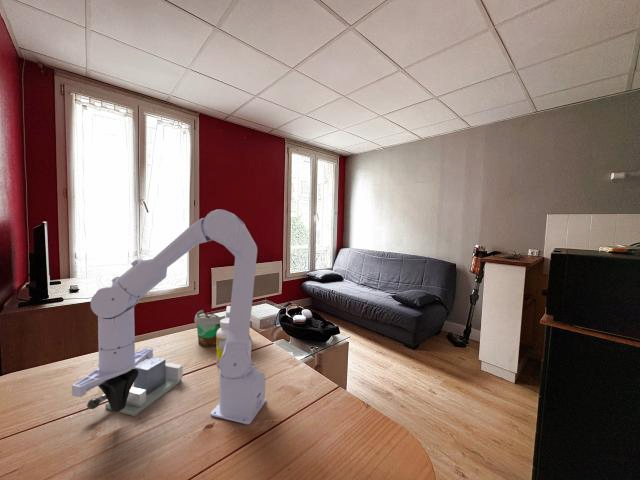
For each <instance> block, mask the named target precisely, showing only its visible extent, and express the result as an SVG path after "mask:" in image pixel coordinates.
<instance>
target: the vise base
mask: <svg viewBox="0 0 640 480" xmlns="http://www.w3.org/2000/svg"><path fill="white" fill-rule="evenodd" d="M183 369H184V366H183V365H182V364H178V363H172V362H166V383H164V384H163V385H161V386H160V387H159V388H157V389H156V390H154V391H153V392H151V393H150V394H149V395H146V403H145V404H144V405H142V406H141V407H137V406H133V405H129V404H126V405H125V408H123V409H122V410H121V411H119V412H118V413H122V414H126V415H128V416H133V417H135V416H136V415H138V414H139V413H140V412H142V411H143V410H145V409H146V408H148V407H149V406H150V405H151V404H152V403H154V402H156V401H157V400H158V399H159V398H161V397H162V396H163V395H165V394H166V393H168V392H169V391H170V390H172V389H173V388H174V387H176V386H177V385H178V384H179V383H181V382H182V381H183V380H182V379H183V376H184V373H183V372H184V371H183ZM132 387H134V385H132ZM105 409H107V410H111V407H110V404H109V402H106V403H105ZM111 411H112V410H111Z"/></svg>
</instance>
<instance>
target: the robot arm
mask: <svg viewBox="0 0 640 480" xmlns="http://www.w3.org/2000/svg"><path fill="white" fill-rule="evenodd" d="M211 241H215V242H216V243H218V244H220V245H223V246H224V247H225V248H226V249H227V250H228V251H229V252H230V253H231V254H232V255H233V256H234V267H233V277H232V287H231V296H230V298H231V299H230V306H231V307H230V317H229V328H228V335H227V339H226V341H225V346H224V351H223V354H222V357H221V359H220V362H219V366H218V368H219V393H218V394H219V400H218V401H219V403H218V404H217V405H216V406H215V407H214V408H213V409H212V410H211V411H210V414H209V415H210V416H212V417H216V418H219V419H224V420H228V421H233V422H236V423H238V424H239V423H240V424H243V425H250V424H251V423H252V422H253V420H255V418H256V416H257V415H258V413H259V412H260V411H261V409H262V407H264V405H265V403H266V401H267V398H266V376H265V372H263V371H261V370H259V369H257V368H256V367H255V366H254V362H253V361H252V360H253V359H252V348H253V339H252V338H251V337H252V336H251V334H250V330H251V329H250V328H251V320H252V319H251V318H252V311H253V310H252V308H253V297H254V287H255V279H256V278H255V277H256V268H257V258H258V246H257V244H256V242H255V241H254V238H253V237H252V235H251V233H250V231H249V230H248V228H247V227H246V224H245V222H244V221H242V219H240V218H239V217H238V216H237V215H236V214H235V213H234V212H233V213H232V212H230V211H228V210H225V209H215V210H212V211H210V212H209V213H207V215H206V216H205V217H202V218H200V219H198V220H197V221H195V222H194V223H193V224H191V225H190V226H189V227H187V228H186V229H185V230H184V231H182V233H181V234H180V235H178V236H177V237H176V238H175V239H174V240H172V242H171V243H169V244H168V245H167V246H166V247H165V248H163V250H161V251H160V252H159V253H158V254H156V256H155V257H148V256H147V257H142V258H141V259H140V258H136V259H134V260H133V261H132V262H131V263H130V264H131V266H132V267H130V268H128V270H126V271H125V272H124V273H122V274H121V275H120V276H115V277H114V278H112V279H111V282H112V284H111V285H110V286H105V287H102V288H99V289H98V290H97V291H96V293H94V294H93V296H92V297H91V300H90V309H91V311H92V312H93V313H94V314H95V315H96V316H97V334H98V335H97V339H98V366H97V368H96V369H94V370H93V371H92V372H90V373H89V374H88V375H86V376H85V377H83V378H81V379H80V380H79V381H77V382H75V383H73V384H72V385H71V395H72V396H73V397H76V398H82V397H84V396H86V395H87V392H90V391H91V390H92V389H94V388H96V387H98V388H99V389H100V390H101V391H102V392H103V394H105V395H106V397H107V399H106V400H107V401H108V402H109V404H110V407H111V411H114V412H118V413H120V412H119V411H121V410H122V409H123V408H125V405H126V402H127V398H128V395H129V392H130V389H131V387H133V386H134V381H135V379H136V378H137V376H138V370H137V369H134V367H135V366H137V365H139V364H140V363H142V362H144V361H146V360H148V359H151V358H152V357H154V349H152V348H148V347H145V348H143V349H141V350H138V351H136V349H135V348H136V346H135V345H136V344H135V343H136V342H135V340H136V339H135V333H136V332H135V331H136V330H135V306H136V305H137V304H138V303H139V301H140V299H141V298H143V297H144V296H145V295H147V294H148V293H149V292H150V291H151V290H152V289H154V288H155V287H156V286H157V285H159V284H160V283H161V282H162V281H164V280H165V279H166V278H167V271H168V268H169V267H170V266H171V265H173V264H174V263H175V262H176V261H178V260H179V259H181V258H182V257H183V256H185V254H187V253H188V252H189V251H191V250H193V249H194V248H195V247H196V246H197V245H200V244H203V243H207V242H208V243H209V242H211ZM108 402H107V403H108Z"/></svg>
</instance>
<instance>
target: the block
mask: <svg viewBox="0 0 640 480" xmlns="http://www.w3.org/2000/svg"><path fill="white" fill-rule="evenodd" d="M133 369H137V370H138V376H137V378H136V379H135V381H134V383H133V386H134V387H135V388H140V389H144V390H146V395H149V394H150V393H151V392H153V391H154V390H156V389H157V388H159V387H160V386H161V385H163V384H164V383H166V358H162V357H154V356H153V357H152V358H151V359H146V360H144V361H142V362H140V363H139V364H137V365H136V366H135V367H134V368H133Z"/></svg>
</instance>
